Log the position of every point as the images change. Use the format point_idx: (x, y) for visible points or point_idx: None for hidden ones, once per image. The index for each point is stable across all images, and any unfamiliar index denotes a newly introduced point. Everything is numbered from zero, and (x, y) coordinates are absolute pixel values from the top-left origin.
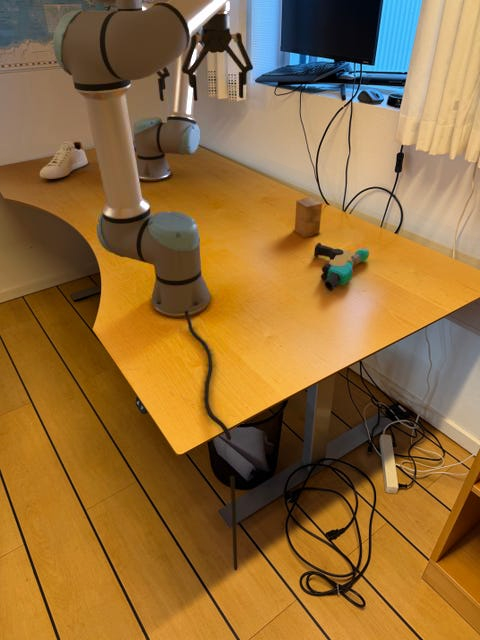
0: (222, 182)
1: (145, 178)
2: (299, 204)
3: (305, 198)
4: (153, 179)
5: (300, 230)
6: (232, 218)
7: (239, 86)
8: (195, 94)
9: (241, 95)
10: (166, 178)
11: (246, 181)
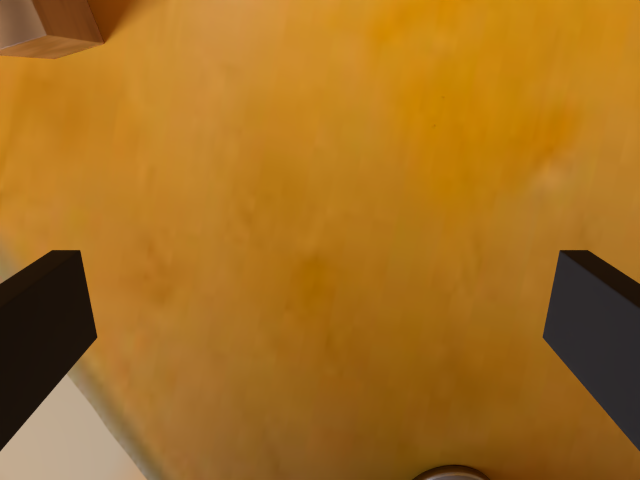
0: (268, 426)
1: (479, 478)
2: (41, 11)
3: (9, 45)
4: (457, 471)
5: (83, 6)
6: (282, 179)
7: (29, 368)
8: (615, 277)
9: (57, 262)
10: (418, 476)
11: (198, 419)
